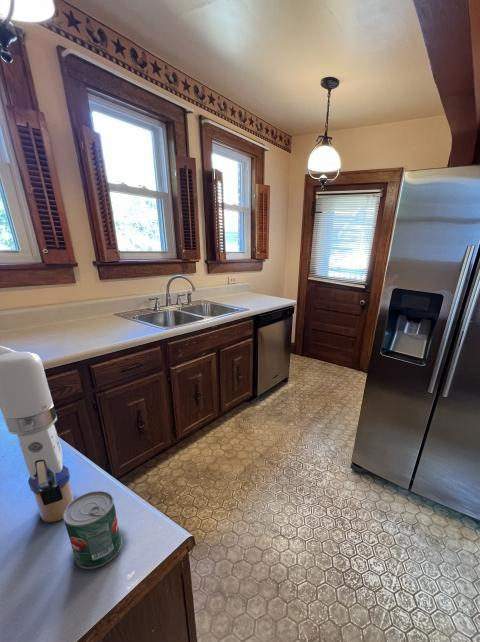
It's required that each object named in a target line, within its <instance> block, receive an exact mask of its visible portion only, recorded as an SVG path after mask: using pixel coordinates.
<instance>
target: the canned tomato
mask: <svg viewBox="0 0 480 642" xmlns="http://www.w3.org/2000/svg"><path fill="white" fill-rule="evenodd" d="M114 502H115V500H114V497H113V495H112V494H111V493H110V492H108V491H104V490H96V491H95V490H94V491H90V492H87V493H84V494H82V495H79V496H78V497H76V498H74V500H73V501H72V502H71V503H70V504H69V505H68V506H67V507H66V509H65V510H64V513H63V522H64V526H65V529H66V533H67V535H68V538H69V542H70V545H71V549H72V552H73V556H74V559H75V563H76V565H77V566H78V567H79V568H81V569H85V570H93V569H97V568H99V567H102V566H104V565H106V564H108V563H109V562H110V561H112V560H113V559H114V558H115V557H116V556H117V555H118V554H119V552H120V550H121V548H122V545H123V539H122V537H121V536H122V535H121V530H120V525H119V521H118V515H117V512H116V506H115V503H114Z"/></svg>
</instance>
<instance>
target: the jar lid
mask: <svg viewBox="0 0 480 642" xmlns="http://www.w3.org/2000/svg"><path fill="white" fill-rule="evenodd" d="M46 471H47V472H50V471H51V470H49V469H47V470H46ZM47 477H48V480H49V481H50V480H51V481H52V478H51V475H49V476H47ZM55 477H56V481H57V483H59V485H60V488H61V487H63V486H64V485H65V484H66V483H67V482H68V481H70V478H71V475H70V470H69V467H68V466H67V465H64V464H62V470H61V472H59V473H55ZM27 483H28V486H29V490H30V492H32V493H33V492H34V493H38V494H40V492H39V487H38V482H37V478H36V479H32V478H31V476H30V475H29V478H28V481H27ZM34 493H33V494H34Z"/></svg>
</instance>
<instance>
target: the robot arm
mask: <svg viewBox="0 0 480 642" xmlns="http://www.w3.org/2000/svg"><path fill="white" fill-rule="evenodd" d="M0 412H1V415H2V417H3V420H4V423H5V426H6V428H7V431H8V432H9V434H11V435H17V439H18V443H19V447H20V449H21V453H22V456H23V459H24V463H25V465H26V468H27V471H28V473H29V477H30V476H31V478H32V479H36V478H37V482H38V487H39V492H40V495H41V498H42V501H43V504H44V505H48V504H51V503H54V502H57V501H60V500H62V499H63V495H62V492H61V489H60V485H59V483H57V481H56V477H55V473H59V472H61V470H62V465H63V448H62V444H61V442H60V439H59V436H58V432H57V429H56V426H55V423H56V422H57V421H58V416H57V413H56V409H55V406H54V401H53V398H52V395H51V390H50V387H49V383H48V380H47V376H46V372H45V369H44V365H43V362H42V359H41V357H40V356H39V355H38V354H36V353H34V352H30V351H16V350H13V349H12V348H9V347H6V346H2V345H0ZM47 469H49V470H51V471H50V472H47V471H46V470H47ZM49 475H51V478H52V481H51V480H50V481H49V480H48V477H47V476H49Z"/></svg>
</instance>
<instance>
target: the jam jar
mask: <svg viewBox="0 0 480 642" xmlns="http://www.w3.org/2000/svg"><path fill="white" fill-rule="evenodd" d="M60 489H61V492H62V495H63V499H62V500H60V501H57V502H54V503H51V504H48V505H44V504H43V501H42V498H41V495H40V494H38V493H34V492H32V493H33V495H34V499H35V502H36V506H37V509H38V513H39V516H40V518H41V520H42V521H44V522H47V523H55V522H57V521H61V520H62V519H63V513H64V510H65V509H66V507H67V506H68V505H69V504H70V503H71V502H72V501H73V500H75V498H74V494H73V490H72V486H71V482H70V480H69V481H68V482H67V483H66V484H65V485H64V486H63V487H61V488H60ZM63 520H64V519H63Z"/></svg>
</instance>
